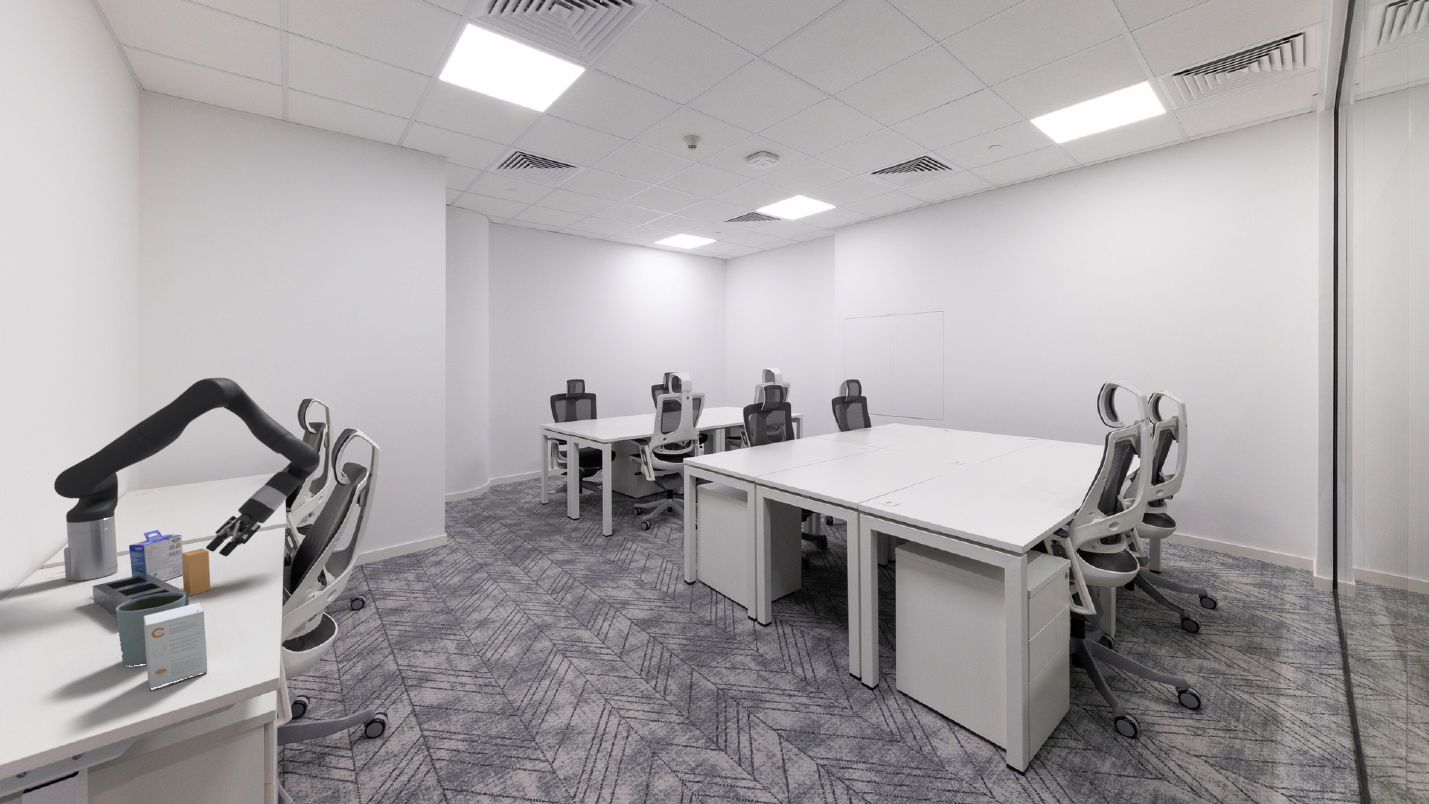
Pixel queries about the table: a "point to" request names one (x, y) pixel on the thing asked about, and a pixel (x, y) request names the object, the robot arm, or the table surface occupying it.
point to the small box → (175, 644)
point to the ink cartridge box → (157, 556)
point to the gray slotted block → (130, 591)
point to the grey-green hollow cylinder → (141, 622)
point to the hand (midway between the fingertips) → (215, 552)
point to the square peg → (196, 571)
